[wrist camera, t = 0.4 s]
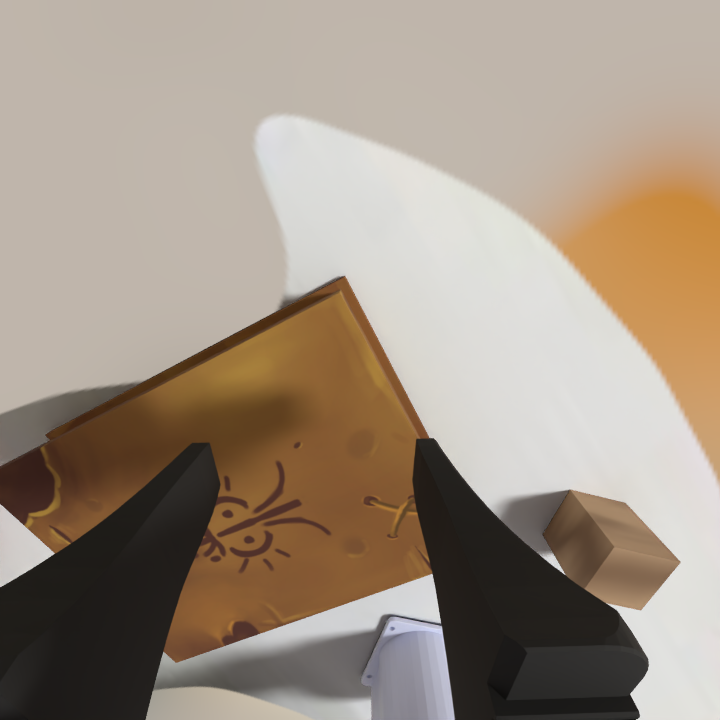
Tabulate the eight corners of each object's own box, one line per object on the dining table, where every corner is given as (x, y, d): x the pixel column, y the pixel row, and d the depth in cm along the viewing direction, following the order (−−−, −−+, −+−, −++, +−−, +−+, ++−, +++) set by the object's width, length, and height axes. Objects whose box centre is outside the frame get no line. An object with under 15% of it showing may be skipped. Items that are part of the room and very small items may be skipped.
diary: (214, 591, 31) (182, 669, 26) (58, 426, 25) (-25, 482, 20) (462, 499, 27) (486, 568, 22) (346, 274, 21) (339, 293, 16)
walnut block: (594, 545, 28) (640, 610, 24) (542, 534, 28) (578, 597, 23) (624, 502, 27) (680, 562, 22) (569, 489, 26) (614, 547, 22)
